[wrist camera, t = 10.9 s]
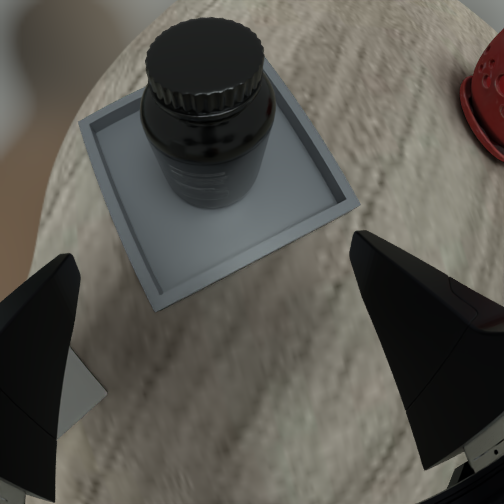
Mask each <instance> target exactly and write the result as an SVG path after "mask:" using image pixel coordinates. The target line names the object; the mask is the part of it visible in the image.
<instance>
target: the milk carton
mask: <svg viewBox="0 0 504 504" xmlns="http://www.w3.org/2000/svg"><path fill="white" fill-rule="evenodd" d="M106 395H107V392H106V390H105V389H104V388H103V387H102V386H101V385H100V383H99V382H98V381H97V380H96V379H95V378H94V376H93V375H92V374H91V373H90V372H89V370H88V369H87V368H86V367H85V365H84V364H83V363H82V362H81V361H80V359H79V358H78V357H77V355H76V354H75V353H74V352H73V350H72V349H71V348H70V346H69V351H68V357H67V362H66V368H65V374H64V381H63V388H62V395H61V403H60V411H59V421H58V432H57V439H58V438H60V437H61V436H62V435H63V434H64V433H65V432H66V431H67V430H69V429H70V428H71V427H72V426H73V425H74V424H75V423H76V422H77V421H79V420H80V419H81V418H82V417H83V416H84V415H85V414H86V413H88V412H89V411H90V410H91V409H92V408H93V407H94V406H95V405H96V404H98V403H99V402H100V401H101V400H102V399H103V398H104V397H105V396H106Z"/></svg>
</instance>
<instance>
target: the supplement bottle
mask: <svg viewBox="0 0 504 504" xmlns="http://www.w3.org/2000/svg"><path fill="white" fill-rule="evenodd" d="M264 59H265V56H264V48H263V46H262V45H261V40H260V39H258V38H257V35H256V34H255V33H254V32H252V31H251V30H250V28H247V27H244V26H243V25H242V24H240V23H236V22H234V21H233V20H226V19H223V18H214V17H209V18H198V19H190V20H188V21H185V22H180V23H179V24H177V25H174V26H171V27H170V28H169V29H168V30H165V31H163V32H162V34H161V35H160V36H158V37H156V39H155V41H154V42H153V43H152V44H151V45H150V49H149V50H148V51H147V57H146V60H145V64H146V73H147V76H148V84H147V85H146V87H145V90H144V92H143V95H142V98H141V102H140V120H141V124H142V127H143V130H144V132H145V135H146V137H147V140H148V142H149V144H150V146H151V148H152V150H153V153H154V155H155V157H156V159H157V161H158V163H159V165H160V168H161V170H162V172H163V174H164V176H165V178H166V180H167V182H168V184H169V185H170V187H171V189H172V190H173V191H174V192H175V193H176V194H177V195H178V196H179V197H180V198H181V199H183V200H184V201H186V202H188V203H190V204H192V205H195V206H198V207H204V208H217V207H222V206H226V205H229V204H231V203H234V202H236V201H237V200H239V199H240V198H242V197H243V196H244V195H245V194H246V193H247V192H248V191H249V190H250V189H251V187H252V186H253V184H254V183H255V181H256V178H257V176H258V173H259V170H260V167H261V163H262V160H263V156H264V153H265V150H266V146H267V143H268V139H269V136H270V132H271V129H272V126H273V122H274V118H275V113H276V98H275V93H274V89H273V87H272V85H271V83H270V81H269V79H268V77H267V76H266V75H265V73H264V72H263V65H264Z"/></svg>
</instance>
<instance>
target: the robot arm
mask: <svg viewBox="0 0 504 504" xmlns="http://www.w3.org/2000/svg"><path fill="white" fill-rule="evenodd" d="M349 257H350V261H351V264H352V267H353V270H354V274H355V277H356V280H357V283H358V286H359V290H360V293H361V296H362V299H363V301H364V304H365V306H366V308H367V311H368V313H369V315H370V318H371V320H372V323H373V325H374V328H375V330H376V332H377V335H378V337H379V340H380V342H381V345H382V348H383V350H384V353H385V355H386V358H387V360H388V363H389V366H390V368H391V371H392V374H393V377H394V379H395V382H396V385H397V388H398V390H399V393H400V396H401V399H402V402H403V405H404V408H405V410H406V414H407V417H408V420H409V423H410V426H411V429H412V432H413V436H414V439H415V442H416V445H417V449H418V452H419V455H420V459H421V462H422V465H423V468H424V470H428V469H430V468H432V467H434V466H436V465H438V464H440V463H443V462H445V461H447V460H449V459H451V458H453V457H455V456H456V455H458V454H460V453H462V452H465V455H466V457H467V460H468V461H467V462H465V463H464V464H462V465H460V466H459V467H457V468H456V469H455V470H454V472H453V475H452V477H451V480H450V482H449V485H448V487H447V489H446V490H444V491H442V492H440V493H438V494H436V495H434V496H432V497H430V498H428V499H426V500H423V501H421V502H419V503H417V504H504V307H503V306H501V305H499V304H497V303H496V302H494V301H492V300H490V299H488V298H486V297H485V296H483V295H481V294H479V293H477V292H475V291H474V290H472V289H470V288H468V287H467V286H465V285H463V284H461V283H460V282H458V281H456V280H455V279H453V278H451V277H448V275H446V274H445V273H443V272H441V271H439V270H438V269H436V268H434V267H433V266H431V265H429V264H427V263H426V262H424V261H422V260H420V259H419V258H417V257H415V256H413V255H411V254H410V253H408V252H406V251H404V250H402V249H401V248H399V247H397V246H395V245H393V244H391V243H390V242H388V241H386V240H384V239H382V238H380V237H378V236H377V235H375V234H373V233H371V232H369V231H367V230H361V231H355V232H354V234H353V237H352V242H351V247H350V252H349ZM80 280H81V277H80V272H79V270H78V267H77V265H76V262H75V259H74V257H73V255H72V254H70V253H66V254H60V255H58V256H57V257H56V258H54V259H53V260H52V261H50V262H49V263H48V264H46V265H45V266H44V267H43V268H41V269H40V270H39V271H37V272H36V273H35V274H34V275H32V276H31V277H30V278H29V279H28V280H26V281H25V282H24V283H23V284H22V285H20V286H19V287H18V288H17V289H15V290H14V291H13V292H12V293H11V294H10V295H8V296H7V297H6V298H5V299H4V300H3V301H1V302H0V504H25V498H26V495H30V496H33V497H36V498H39V499H43V500H46V501H50V502H54V503H55V472H56V448H57V432H58V421H59V411H60V403H61V395H62V388H63V381H64V374H65V368H66V362H67V357H68V351H69V346H70V341H71V336H72V332H73V327H74V322H75V316H76V309H77V301H78V294H79V287H80Z"/></svg>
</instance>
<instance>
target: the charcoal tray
mask: <svg viewBox="0 0 504 504" xmlns="http://www.w3.org/2000/svg"><path fill="white" fill-rule="evenodd" d="M263 72H264V73H265V75H266V76H267V77H268V79H269V81H270V83H271V85H272V87H273V89H274V93H275V98H276V113H275V118H274V122H273V126H272V129H271V132H270V136H269V139H268V143H267V146H266V150H265V153H264V156H263V160H262V163H261V167H260V170H259V173H258V176H257V178H256V181H255V183H254V184H253V186H252V187H251V189H250V190H249V191H248V192H247V193H246V194H245V195H244V196H243V197H242V198H240V199H239V200H237V201H236V202H234V203H231V204H229V205H226V206H222V207H217V208H204V207H198V206H195V205H192V204H190V203H188V202H186V201H184V200H183V199H181V198H180V197H179V196H178V195H177V194H176V193H175V192H174V191H173V190H172V189H171V187H170V185H169V184H168V182H167V180H166V178H165V176H164V174H163V172H162V170H161V168H160V165H159V163H158V161H157V159H156V157H155V155H154V153H153V150H152V148H151V146H150V144H149V142H148V140H147V137H146V135H145V132H144V130H143V127H142V124H141V120H140V102H141V98H142V95H143V92H144V90H145V87H144V88H142V89H140V90H137V91H135V92H133V93H131V94H129V95H127V96H125V97H123V98H121V99H119V100H117V101H115V102H113V103H111V104H109V105H107V106H106V107H104V108H102V109H100V110H98V111H96V112H95V113H93V114H91V115H89V116H88V117H86V118H84V119H82V120H81V121H79V122H78V124H79V127H80V130H81V133H82V137H83V140H84V143H85V146H86V149H87V152H88V155H89V158H90V161H91V164H92V167H93V170H94V172H95V175H96V178H97V181H98V184H99V186H100V189H101V192H102V194H103V197H104V200H105V202H106V205H107V207H108V210H109V212H110V215H111V217H112V220H113V222H114V225H115V227H116V230H117V232H118V234H119V237H120V239H121V241H122V244H123V246H124V248H125V251H126V253H127V255H128V257H129V260H130V262H131V264H132V266H133V268H134V271H135V273H136V275H137V277H138V279H139V281H140V283H141V285H142V288H143V290H144V292H145V294H146V296H147V298H148V300H149V302H150V304H151V306H152V308H153V310H154V312H157V311H160V310H163V309H165V308H167V307H169V306H170V305H172V304H174V303H176V302H178V301H180V300H182V299H184V298H186V297H188V296H190V295H192V294H194V293H196V292H198V291H200V290H202V289H204V288H205V287H207V286H209V285H211V284H213V283H215V282H217V281H219V280H221V279H223V278H225V277H227V276H229V275H231V274H232V273H234V272H236V271H238V270H240V269H242V268H244V267H246V266H248V265H250V264H252V263H254V262H256V261H257V260H259V259H261V258H263V257H265V256H267V255H269V254H271V253H273V252H275V251H277V250H279V249H280V248H282V247H284V246H286V245H288V244H290V243H292V242H294V241H296V240H298V239H299V238H301V237H303V236H305V235H307V234H309V233H311V232H313V231H315V230H317V229H318V228H320V227H322V226H324V225H326V224H328V223H330V222H332V221H334V220H335V219H337V218H339V217H341V216H343V215H345V214H347V213H349V212H350V211H352V210H353V209H355V208H357V207H358V206H360V205H361V204H360V202H359V200H358V199H357V197H356V195H355V193H354V191H353V190H352V188H351V186H350V184H349V183H348V181H347V179H346V177H345V176H344V174H343V172H342V171H341V169H340V167H339V166H338V164H337V162H336V161H335V159H334V157H333V156H332V154H331V152H330V151H329V149H328V148H327V146H326V144H325V143H324V141H323V140H322V138H321V136H320V135H319V133H318V132H317V130H316V129H315V127H314V126H313V124H312V123H311V121H310V119H309V118H308V116H307V115H306V113H305V112H304V111H303V109H302V108H301V106H300V105H299V103H298V102H297V100H296V99H295V97H294V96H293V95H292V93H291V92H290V90H289V89H288V88H287V86H286V85H285V83H284V82H283V81H282V79H281V78H280V76H279V75H278V74H277V72H276V71H275V70H274V68H273V67H272V66H271V64H270V63H269V62H268V60H267V59H266V58H265V59H264V65H263Z"/></svg>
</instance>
